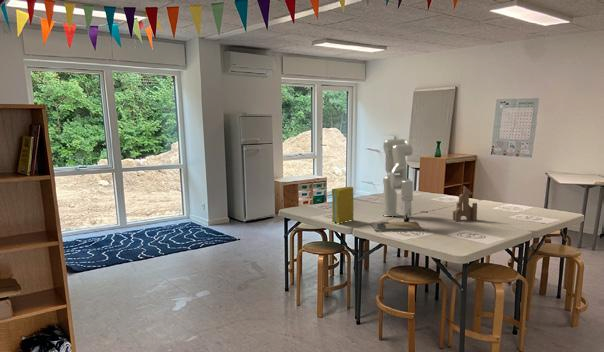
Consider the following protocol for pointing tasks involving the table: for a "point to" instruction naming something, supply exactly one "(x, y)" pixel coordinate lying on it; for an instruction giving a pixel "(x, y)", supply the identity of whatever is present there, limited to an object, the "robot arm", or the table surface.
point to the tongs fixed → (399, 226)
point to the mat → (394, 229)
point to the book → (342, 204)
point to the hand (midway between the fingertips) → (406, 224)
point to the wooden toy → (465, 207)
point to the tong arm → (393, 222)
